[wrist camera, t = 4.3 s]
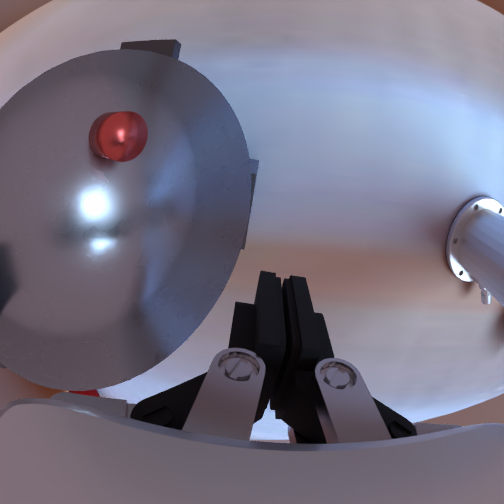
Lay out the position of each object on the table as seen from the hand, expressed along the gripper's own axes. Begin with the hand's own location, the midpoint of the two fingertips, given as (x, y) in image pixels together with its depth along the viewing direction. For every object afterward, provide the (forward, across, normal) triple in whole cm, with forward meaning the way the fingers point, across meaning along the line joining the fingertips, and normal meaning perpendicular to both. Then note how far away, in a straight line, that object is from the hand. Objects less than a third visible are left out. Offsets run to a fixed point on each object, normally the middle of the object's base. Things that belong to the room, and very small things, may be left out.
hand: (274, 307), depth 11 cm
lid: (+2, +10, 0) cm, 10 cm away
